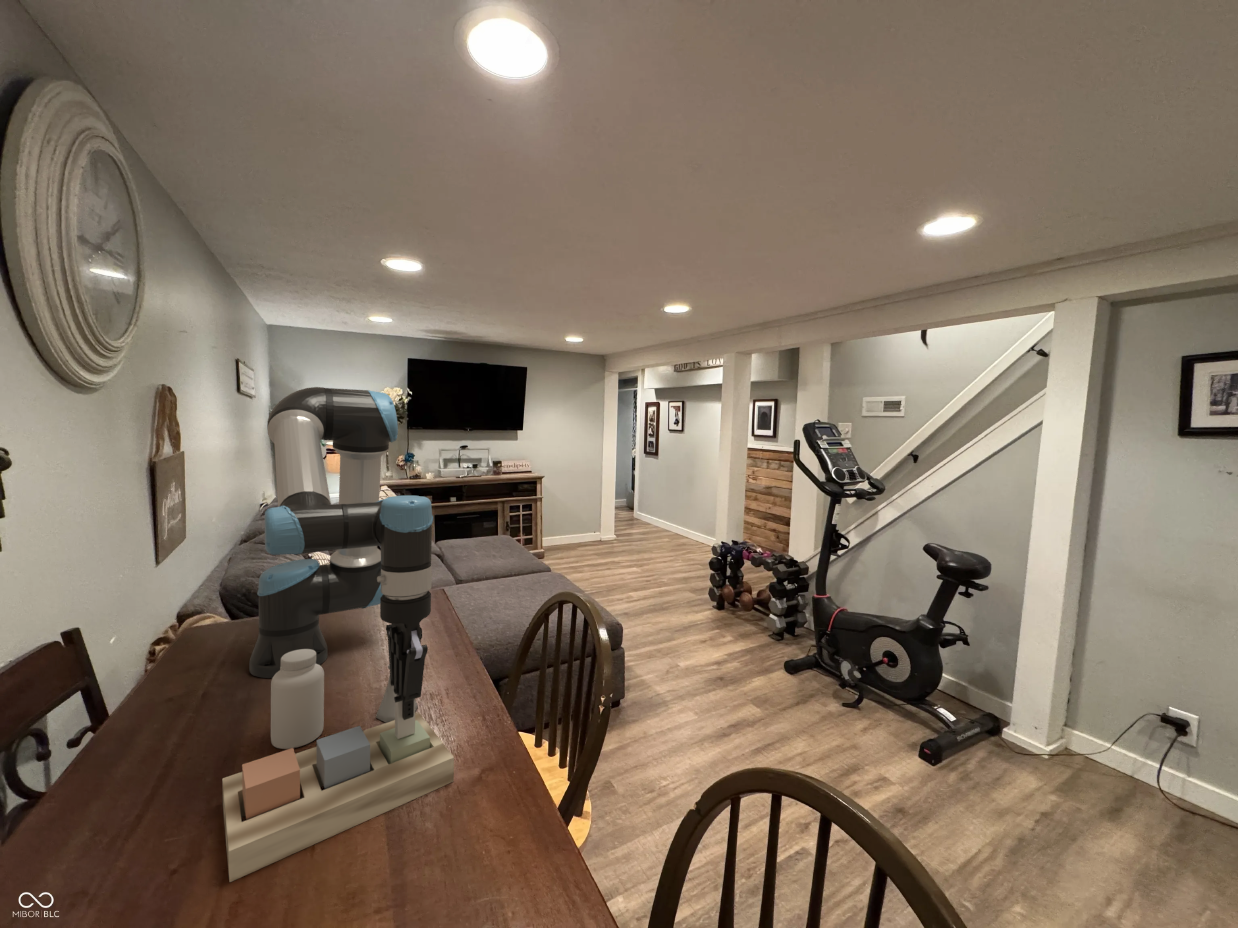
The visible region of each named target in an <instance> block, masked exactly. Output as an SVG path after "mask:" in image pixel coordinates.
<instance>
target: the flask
mask: <svg viewBox="0 0 1238 928" xmlns="http://www.w3.org/2000/svg"><path fill="white" fill-rule="evenodd" d="M387 668H388V669H389V670H390V666H389V664H388V665H387ZM395 696H397V694H395V693H394V686H391V684H390V675H389V678H388V682H387V687H386V689H385V692H384V694H383V697H382V699H381V703H380V704H379V707H378V710H377V713H376V716H375V719H378V720H380V721H382V722H383V723H388V722H391V721H394V720H395V700H394V697H395ZM418 707H419V706H418V703H417V701H416V700H415V712H417V709H418Z"/></svg>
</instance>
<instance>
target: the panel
mask: <svg viewBox="0 0 1238 928" xmlns="http://www.w3.org/2000/svg"><path fill="white" fill-rule="evenodd" d="M416 720H417V721H418V722H419V723H420V725H421V726H422V727H423V728H424V730H425V731H426V732H427V734H428V735H429V736H430V748H429V749H427V750H424V751H422V752H419V753H417V754H414V755H412V756H409V757H407V758H404V759H401V760H399V761H396V762H394V763H391V764H388V763H387V761H386V759H385V757H384V756H383V754H382V752H381V750H380V733H382V732H384V731H387V730H390V729H393V728H395V720H394V721H391V722H384V723H381V724H379V725H376V726H374V727H370V728H366V729H365V730H363V732H364V734H365V736H366V738H367V739H368V741H369V743H370V771H369V772H366V773H364V774H361V775H358V776H356V777H353V778H351V779H348V780H346V781H343V782H341V783H338V784H335V785H333V786H330V787H328V788H324V789H323V790H322V789H321V787H324V786H323V783H322V780H321V777H320V775H319V772H318V769H317V746H314V747H312V748H309V749H306V750H305V749H304V750H302V751H299V752H297V753H295V756H296V759H297V762H298V765H299V768H300V799H297V800H295V801H292V802H289V803H287V804H284V805H282V806H279V807H277V808H274V809H272V810H269V811H267V812H264V813H261V814H259V815H256V816H254V817H251V818H249V819H246V820H243V821H242V818H243V817H246V815H245V808H244V801H243V794H242V771H241V772H238V773H237V772H236V773H235V774H232V775H229V776H226V777H223V778H222V785H221V786H222V812H223V813H222V814H223V824H224V825H223V826H224V836H225V846H226V857H227V858H226V859H227V868H228V869H227V870H228V880H229V883H232V882H234V881H236V880H239V879H241V878H242V877H243V878H244V876H245V877H246V876H247V875H249V874H251V873H254V872H256V871H258V870H261V869H262V868H265V867H267V866H269V865H272V864H273V863H276V862H279V861H280V860H283V859H285V858H287V857H289V856H291V855H294V854H296V853H298V852H300V851H302V850H304V849H307V848H309V847H312V846H314V845H316V844H318V843H321V842H322V841H324V840H326V839H329V838H332V837H334V836H336V835H338V834H340V833H342V832H344V831H347V830H349V829H351V828H354V827H355V826H358V825H360V824H362V823H364V822H367V821H369V820H371V819H374V818H376V817H378V816H381V815H382V814H384V813H387V812H389V811H391V810H393V809H396V808H398V807H400V806H402V805H405V804H407V803H408V802H411V801H413V800H415V799H417V798H420V797H423V796H424V795H426V794H429V793H430V792H433V791H436V790H437V789H440V788H442V787H444V786H445V787H446V786H447V785H448V784H451V783H453V782H454V781H455V776H454V775H455V756H454V755H453V753H451V751H450V750H449V749H448V748H447V746H446V745H445V744H444V742H443V741H442V740H441V739H440V737H439V736H438V735H437V734H436V732H435V731H434V730H433V729H432V727H431V725H430V724H429V723H428V721H426V719H425V718H424V717H423V716H422V714H421V713H420V712H419V711H418V712H417V711H416V712H415V721H416Z"/></svg>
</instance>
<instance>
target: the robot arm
mask: <svg viewBox="0 0 1238 928" xmlns="http://www.w3.org/2000/svg"><path fill="white" fill-rule="evenodd" d="M398 425H399V424H398V416H397V411H396V407H395V404H394V401H393V399H392V396H390V395H389V394H387V393H385V392H380V391H375V390H369V389H366V390H365V389H351V388H349V389H348V388H333V387H323V386H322V387H321V386H314V387H313V386H312V387H306V388H301V389H299V390H296V391H294V392H291V393H290V394H288V395H287V396H284V398H282V399H280V400H279V401H278V402H277V404H275V406H274V407H273V408H272V409H271V411H270V413H269V416H268V419H267V427H266V428H267V435H268V438H269V440H270V441H271V442H272V443H273V444H274V458H275V473H276V474H275V475H276V476H275V477H276V491H277V492H276V493H277V506H276V507H269V508H267V509H266V510H265V512H264V548H265V551H266V552H267V554H269V555H272V556H278V555H279V556H281V555H283V556H284V555H301V554H309V553H319V552H327V551H329V552H330V551H334V552H333V553H331V555H330V558H329V563H327V564H320V562H319V560H318V559H316V558H307V559H306V558H301V559H294V560H290V561H286V562H282V563H279V564H276V565H274V566H271V567H269V568H267V569H265V570H264V571H263V572H262V573H261V574H260V576H259V579H258V590H257V596H258V636H257V639H256V642H255V645H254V647H253V650H252V652H251V656H250V658H249V662H248V663H249V664H248V665H249V673H250V674H251V676H254V677H258V678H262V679H272V678H273V677H274V675H275V674H276V673H277V672H278V671H280V667H281V657H282V656H283V655H285V654H286V653H288V652H291V651H295V650H300V649H311V650H314V651H315V652H316V664H318V665H320V666H321V665H322V664H323V663H324V662H325V661H326V660H327V658H328V645H327V642H326V640H325V637H324V635H323V632H322V630H321V628H320V616H321V615H327V614H332V613H333V614H335V613H339V612H346V611H351V610H359V609H367V608H368V607H374V606H378V605H379V608H380V609H379V610H380V611H379V613H380V614H379V616H380V619H381V620H382V621H383V622H384V623H387V624H386V625H385V631H386V637H387V644H388V645H387V646H388V663H389V664H388V665H389V666H390V669H389V676H390V684H391V686H394V693H395V694H397V696H395V697H394V700H395V736H396V737H397V739H400V738H403V737H405V736H408V735H411V734H414V733H415V713H416V711H415V701H416V699H418V698H421V696H422V689H423V680H424V671H425V670H424V669H425V662H426V657H427V654H428V650H429V649H428V648H429V647H428V646H427V644H421V642H422V641H421V640H422V639H423V629H422V627H421V625H420V623H421V621H423V619H426V618H428V616H430V614H431V612H432V592H430V590H431V588H432V587H433V586H432V583H433V582H432V580H433V579H432V578H433V577H432V575H433V565H432V543H433V542H432V540H433V538H432V537H433V522H434V516H433V510H432V507H433V506H432V502H431V501H432V500H431V499H430V498H429V497H426V496H419V495H395V496H388V497H387V498H384V499H380V491H381V472H382V471H381V469H382V456H383V455H385V453H387V452H388V451H389V448H390V443H393V442H396V441H397V439H398V436H399V435H398V434H399V427H398ZM321 441H332V449H333V450H334V451H336V453H338V455H339V484H338V488H339V490H338V504H337V503H336V504H335V503H333V504H332V502H331V496H330V491H329V485H328V481H327V474H326V468H325V467H326V466H325V462H324V455H323V451H322V445H321ZM378 546H379V547H380V549H379V548H378Z"/></svg>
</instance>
